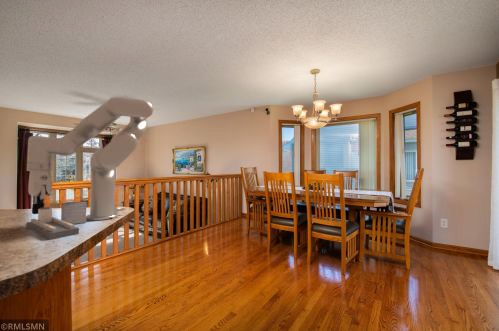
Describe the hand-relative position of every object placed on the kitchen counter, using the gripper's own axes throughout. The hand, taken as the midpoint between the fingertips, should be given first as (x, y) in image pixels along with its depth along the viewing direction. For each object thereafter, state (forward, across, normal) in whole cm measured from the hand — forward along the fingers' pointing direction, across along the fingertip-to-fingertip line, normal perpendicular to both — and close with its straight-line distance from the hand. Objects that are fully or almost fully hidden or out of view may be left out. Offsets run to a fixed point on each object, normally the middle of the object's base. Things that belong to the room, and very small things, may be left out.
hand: (37, 213), depth 91 cm
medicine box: (+5, -8, -9) cm, 13 cm away
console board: (+5, -14, 0) cm, 14 cm away
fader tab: (+2, -7, 0) cm, 7 cm away
